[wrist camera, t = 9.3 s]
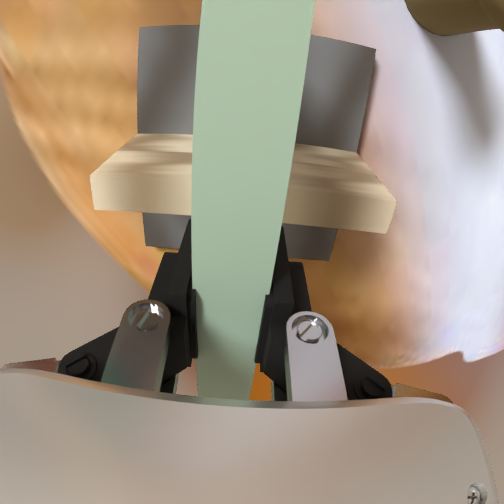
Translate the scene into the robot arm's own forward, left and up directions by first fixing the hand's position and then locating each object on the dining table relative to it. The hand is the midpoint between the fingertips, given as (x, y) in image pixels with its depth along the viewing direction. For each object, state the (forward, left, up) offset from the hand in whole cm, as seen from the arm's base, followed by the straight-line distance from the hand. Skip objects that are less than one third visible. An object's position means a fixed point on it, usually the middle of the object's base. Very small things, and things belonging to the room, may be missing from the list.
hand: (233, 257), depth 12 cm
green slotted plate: (0, 0, -9) cm, 9 cm away
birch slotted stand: (0, 0, -14) cm, 14 cm away
